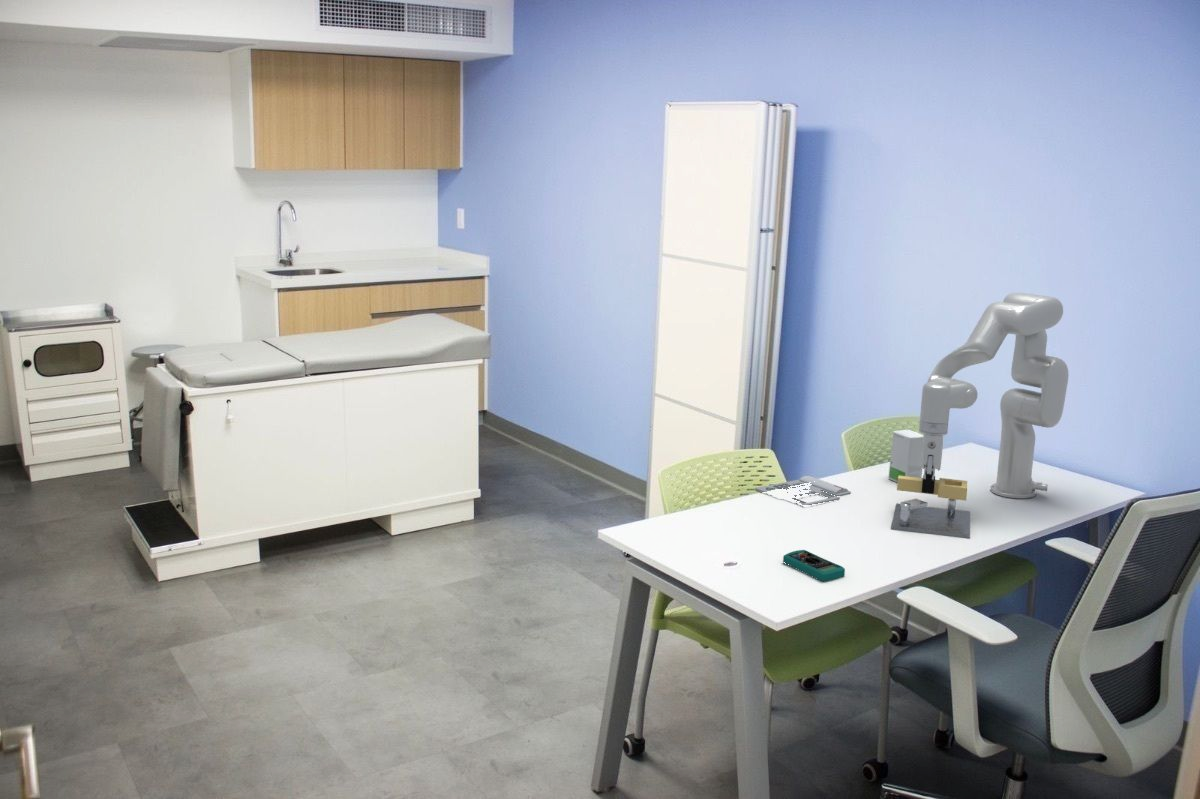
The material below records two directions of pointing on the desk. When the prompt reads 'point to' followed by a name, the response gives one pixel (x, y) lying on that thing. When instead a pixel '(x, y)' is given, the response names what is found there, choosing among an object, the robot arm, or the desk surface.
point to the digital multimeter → (814, 565)
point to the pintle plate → (931, 519)
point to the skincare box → (906, 455)
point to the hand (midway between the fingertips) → (927, 490)
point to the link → (935, 487)
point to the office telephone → (815, 488)
